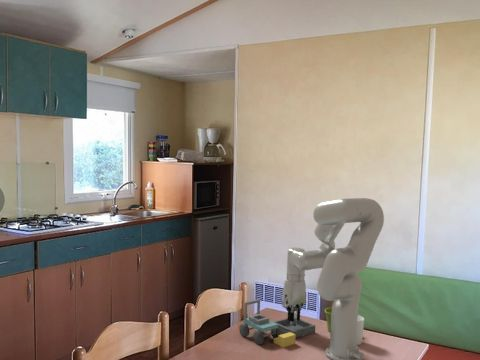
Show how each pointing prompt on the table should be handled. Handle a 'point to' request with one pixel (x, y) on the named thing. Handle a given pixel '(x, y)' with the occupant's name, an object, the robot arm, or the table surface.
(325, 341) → the table surface
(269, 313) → the table surface
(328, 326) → the plant pot
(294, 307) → the pin
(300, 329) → the tray
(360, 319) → the white cup
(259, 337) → the trolley
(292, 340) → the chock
